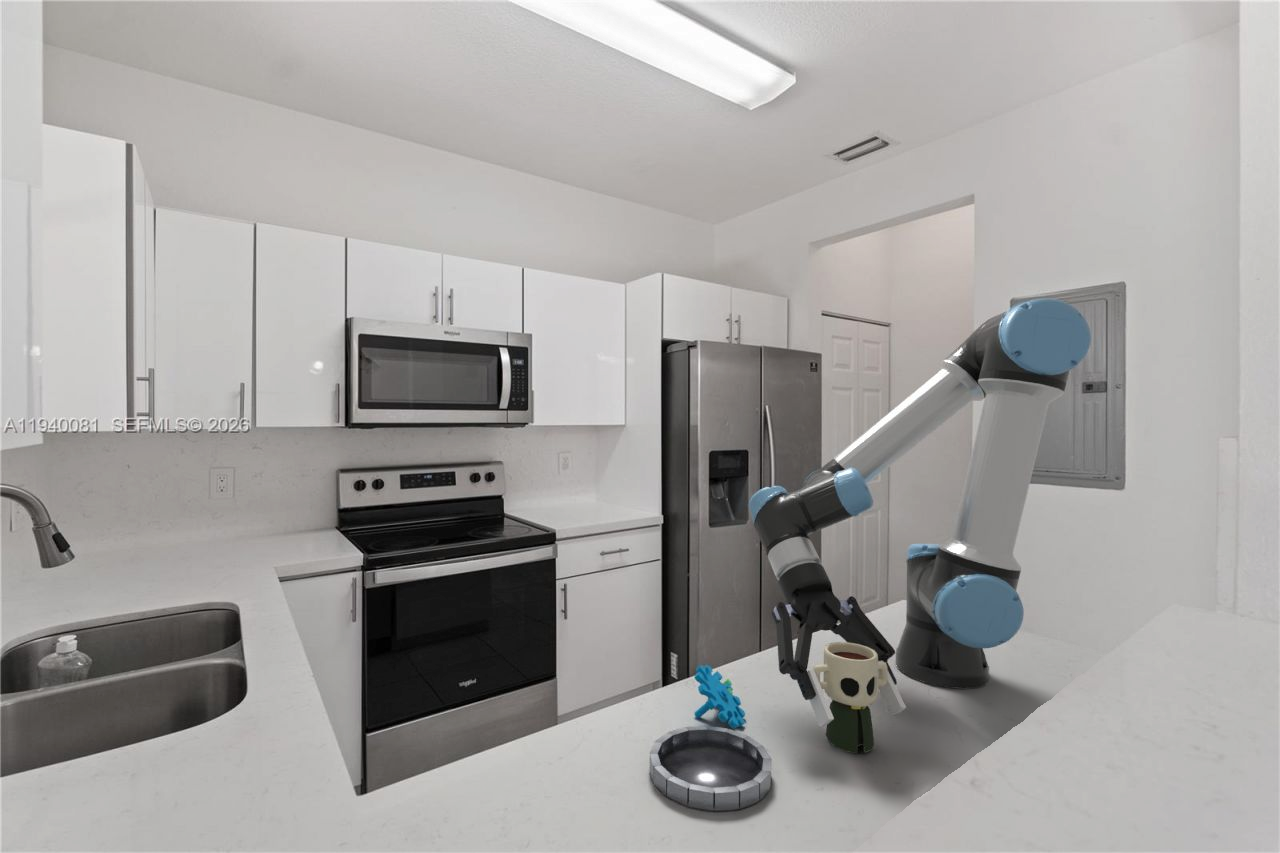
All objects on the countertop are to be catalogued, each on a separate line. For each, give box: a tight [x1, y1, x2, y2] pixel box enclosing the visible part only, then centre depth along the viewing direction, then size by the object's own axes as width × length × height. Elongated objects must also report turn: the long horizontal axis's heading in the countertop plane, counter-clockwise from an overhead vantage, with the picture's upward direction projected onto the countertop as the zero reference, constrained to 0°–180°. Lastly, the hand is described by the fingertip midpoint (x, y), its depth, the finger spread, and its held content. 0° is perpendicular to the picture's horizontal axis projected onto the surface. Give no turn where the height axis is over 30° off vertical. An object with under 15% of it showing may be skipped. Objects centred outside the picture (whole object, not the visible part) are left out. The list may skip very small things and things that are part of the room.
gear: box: [693, 664, 746, 730], centre depth 89 cm, size 11×6×10 cm
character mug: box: [812, 641, 888, 754], centre depth 82 cm, size 11×7×13 cm, turn 98°
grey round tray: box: [648, 725, 773, 813], centre depth 75 cm, size 15×15×2 cm
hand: (863, 717), depth 79 cm, fingers closed on character mug, 11 cm apart
